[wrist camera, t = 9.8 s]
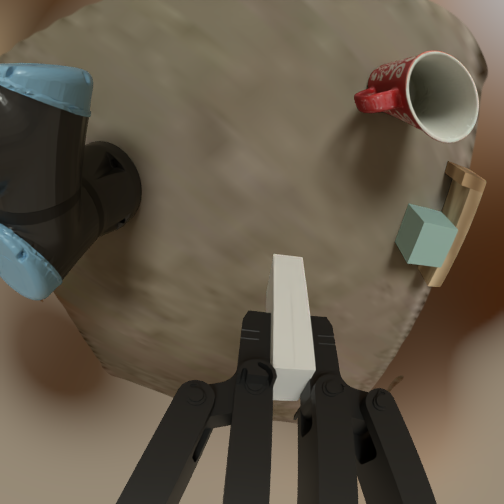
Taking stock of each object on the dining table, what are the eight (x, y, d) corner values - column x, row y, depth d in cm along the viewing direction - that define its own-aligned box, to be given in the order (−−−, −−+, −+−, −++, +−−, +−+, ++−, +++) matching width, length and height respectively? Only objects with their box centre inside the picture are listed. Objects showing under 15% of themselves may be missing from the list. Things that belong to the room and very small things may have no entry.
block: (394, 241, 41) (407, 263, 36) (408, 203, 37) (424, 222, 32) (426, 246, 41) (440, 267, 36) (441, 211, 37) (458, 229, 32)
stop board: (409, 266, 43) (418, 285, 39) (448, 161, 32) (465, 172, 28) (429, 269, 43) (440, 286, 39) (469, 169, 32) (486, 181, 27)
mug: (412, 56, 24) (470, 53, 13) (425, 117, 29) (483, 140, 18) (327, 64, 27) (356, 53, 16) (345, 128, 32) (379, 154, 21)
